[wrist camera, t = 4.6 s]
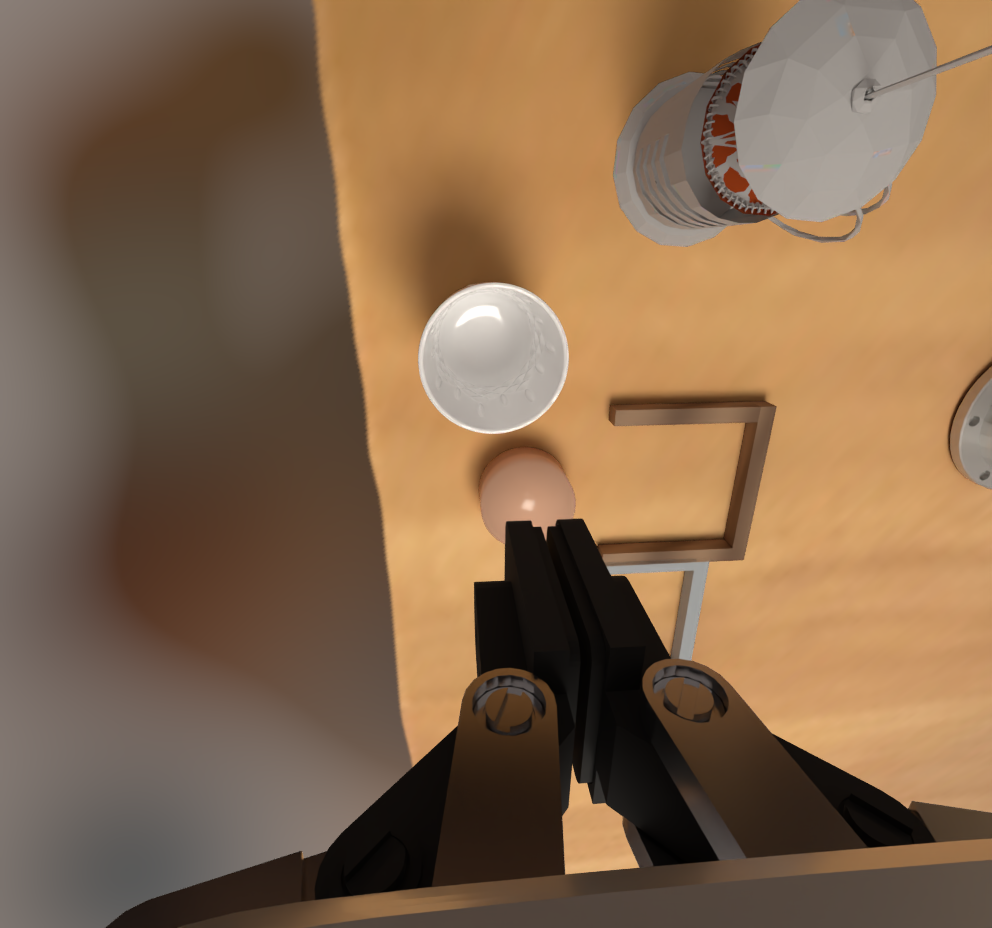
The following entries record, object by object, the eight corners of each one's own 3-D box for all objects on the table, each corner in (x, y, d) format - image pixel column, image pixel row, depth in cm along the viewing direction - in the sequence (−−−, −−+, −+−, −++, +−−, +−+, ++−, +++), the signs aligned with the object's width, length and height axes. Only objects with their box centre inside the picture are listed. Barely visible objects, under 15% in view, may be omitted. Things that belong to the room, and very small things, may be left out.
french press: (689, 30, 30) (1466, -704, 7) (810, 168, 33) (1604, -20, 10) (581, 179, 33) (892, -1, 10) (704, 294, 36) (1152, 366, 13)
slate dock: (702, 548, 44) (710, 557, 43) (680, 667, 49) (687, 679, 48) (562, 554, 43) (566, 564, 42) (555, 675, 48) (559, 688, 47)
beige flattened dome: (568, 444, 40) (578, 461, 36) (563, 524, 42) (572, 546, 39) (478, 447, 39) (480, 465, 36) (479, 527, 42) (481, 550, 39)
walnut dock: (765, 401, 39) (776, 406, 38) (734, 550, 44) (743, 560, 43) (610, 404, 39) (616, 410, 37) (597, 556, 44) (601, 566, 42)
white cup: (561, 320, 36) (599, 342, 27) (497, 409, 38) (511, 459, 29) (468, 249, 34) (474, 248, 24) (405, 349, 36) (389, 382, 27)
